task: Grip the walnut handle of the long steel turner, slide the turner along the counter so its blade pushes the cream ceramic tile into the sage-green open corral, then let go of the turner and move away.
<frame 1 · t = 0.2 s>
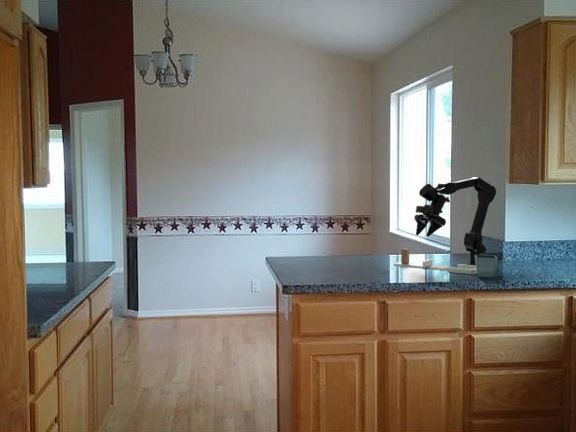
hand: (421, 235, 293), 15 cm above the worktop, fingers open, 9 cm apart
turner: (412, 266, 303), on the worktop
flower pot: (485, 277, 274), on the worktop
corral: (464, 271, 288), on the worktop
tile: (439, 269, 295), on the worktop
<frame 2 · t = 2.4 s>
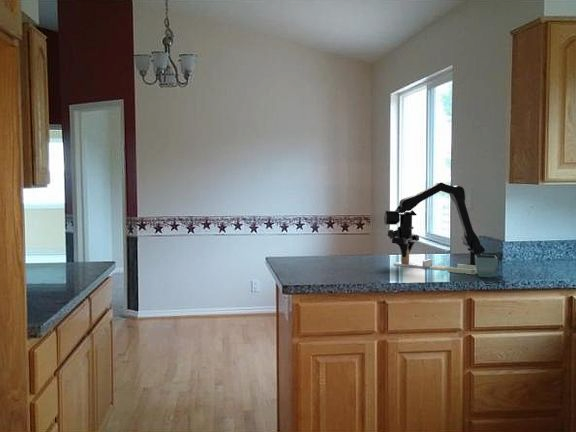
hand: (405, 256, 305), 4 cm above the worktop, fingers closed on turner, 3 cm apart
turner: (412, 265, 303), on the worktop, touching gripper
everything else where it was.
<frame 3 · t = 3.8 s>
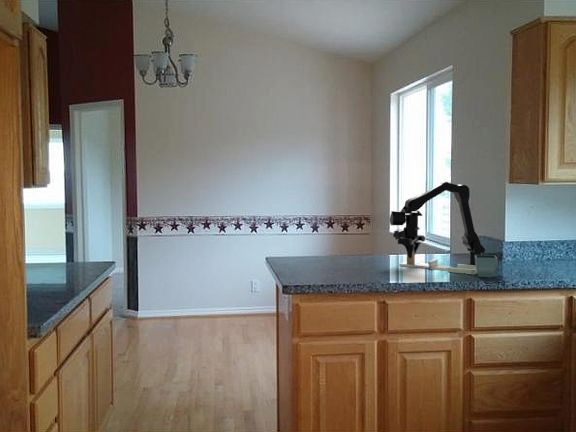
hand: (411, 257, 303), 4 cm above the worktop, fingers closed on turner, 3 cm apart
turner: (418, 266, 301), on the worktop, touching gripper
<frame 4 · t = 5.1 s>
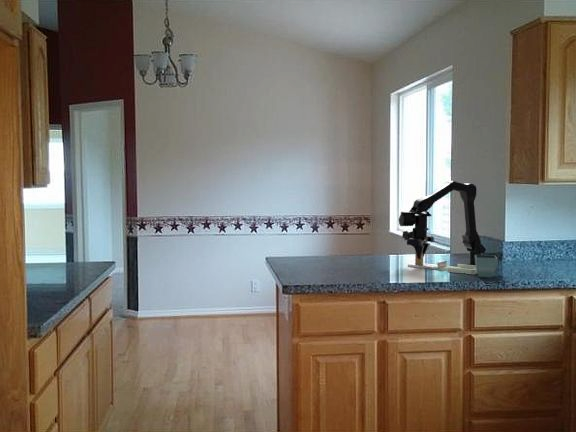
hand: (420, 258, 300), 4 cm above the worktop, fingers closed on turner, 3 cm apart
turner: (427, 267, 299), on the worktop, touching gripper
tile: (450, 270, 292), on the worktop
everything else where it was.
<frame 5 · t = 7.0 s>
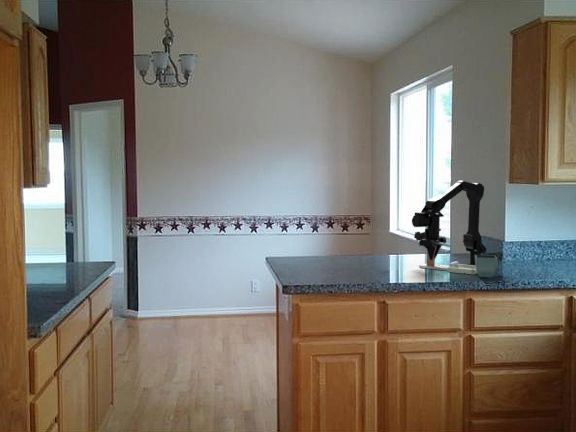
hand: (432, 259, 297), 4 cm above the worktop, fingers closed on turner, 3 cm apart
turner: (438, 268, 295), on the worktop, touching gripper, tile
tile: (462, 272, 289), on the worktop, touching turner
everything else where it was.
when the fingers open (4 cm above the worktop, at t = 8.1 s): turner stays where it is, on the worktop.
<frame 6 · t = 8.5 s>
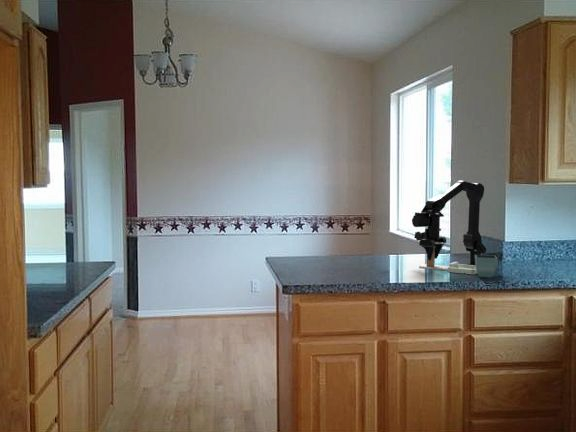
hand: (432, 259, 297), 4 cm above the worktop, fingers open, 7 cm apart
turner: (438, 268, 295), on the worktop
tile: (462, 272, 289), on the worktop
everything else where it was.
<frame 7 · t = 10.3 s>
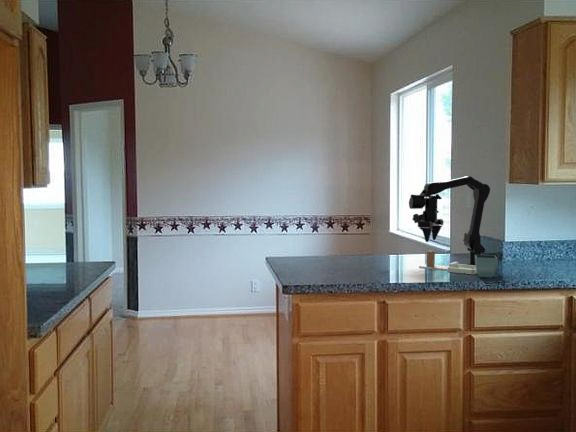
hand: (430, 240, 304), 12 cm above the worktop, fingers open, 9 cm apart
nothing on the worktop moved.
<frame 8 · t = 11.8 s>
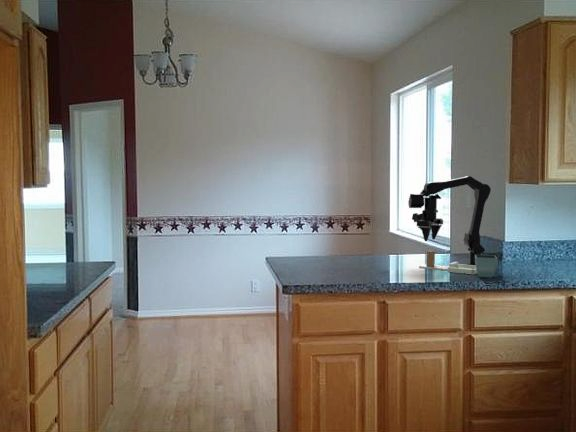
hand: (429, 240, 305), 12 cm above the worktop, fingers open, 9 cm apart
nothing on the worktop moved.
at the end: tile 0.9 cm off-centre on the corral, point -0.6 cm above the corral's base; tile tilted 0°; the gripper is holding nothing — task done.
